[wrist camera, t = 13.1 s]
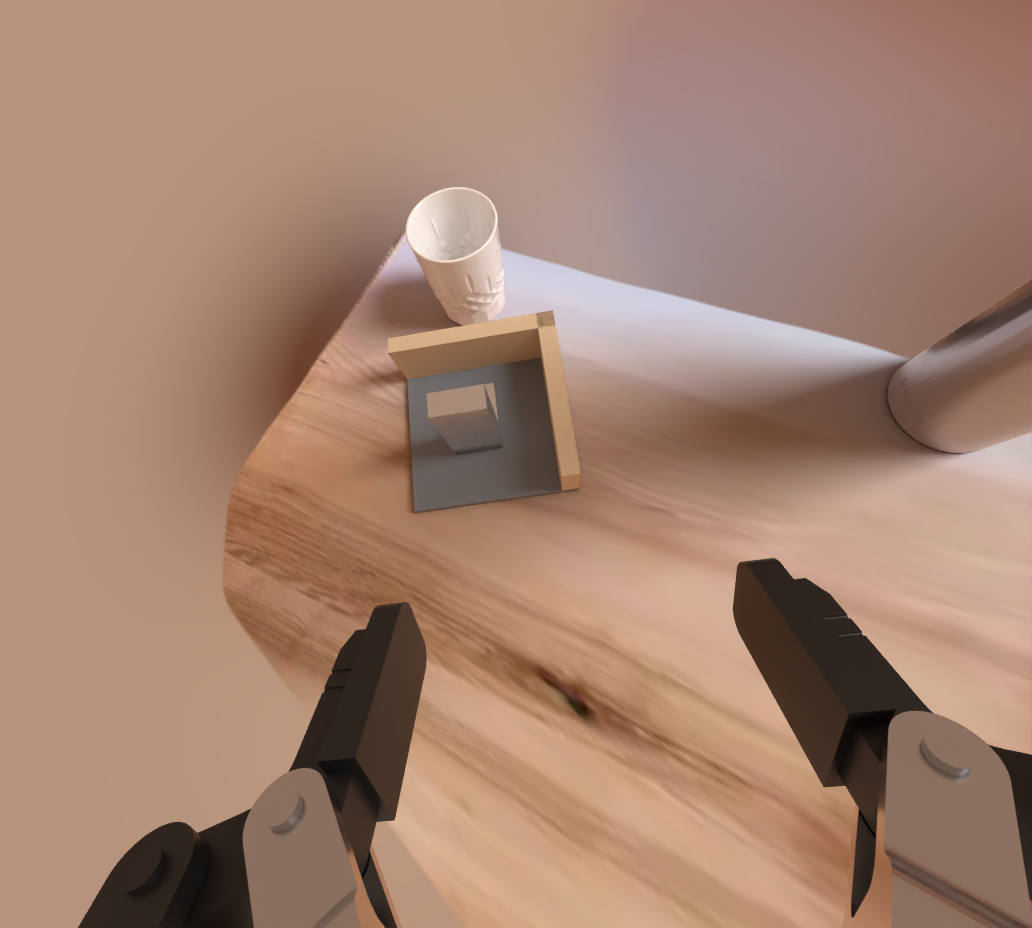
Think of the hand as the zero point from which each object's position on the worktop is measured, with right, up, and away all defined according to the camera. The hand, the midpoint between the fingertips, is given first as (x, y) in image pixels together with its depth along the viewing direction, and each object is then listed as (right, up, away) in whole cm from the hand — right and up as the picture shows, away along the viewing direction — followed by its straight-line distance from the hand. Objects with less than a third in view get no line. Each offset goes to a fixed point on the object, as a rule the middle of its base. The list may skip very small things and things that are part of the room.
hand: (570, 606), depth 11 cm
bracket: (-5, +8, +30) cm, 32 cm away
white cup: (-6, +21, +35) cm, 42 cm away
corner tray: (-4, +7, +31) cm, 32 cm away
